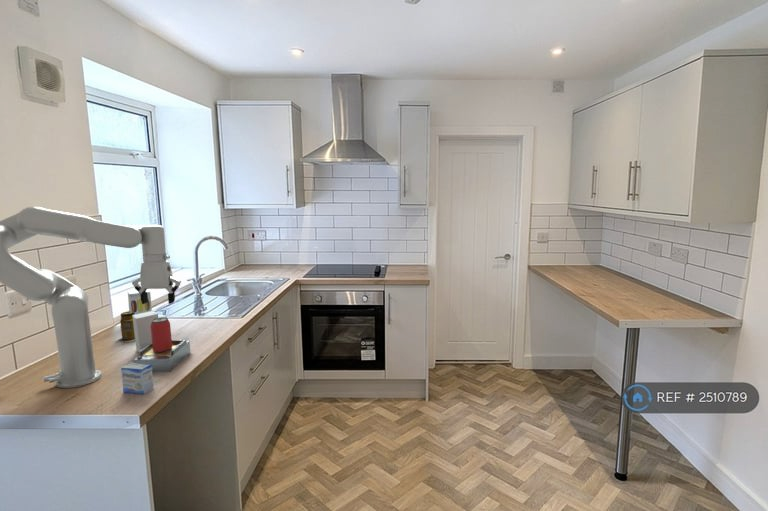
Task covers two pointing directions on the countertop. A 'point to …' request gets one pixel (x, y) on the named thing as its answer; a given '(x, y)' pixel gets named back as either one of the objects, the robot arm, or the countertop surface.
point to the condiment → (127, 327)
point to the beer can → (161, 334)
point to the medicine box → (137, 378)
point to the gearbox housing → (164, 356)
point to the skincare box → (143, 328)
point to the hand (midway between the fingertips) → (158, 303)
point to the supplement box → (138, 302)
